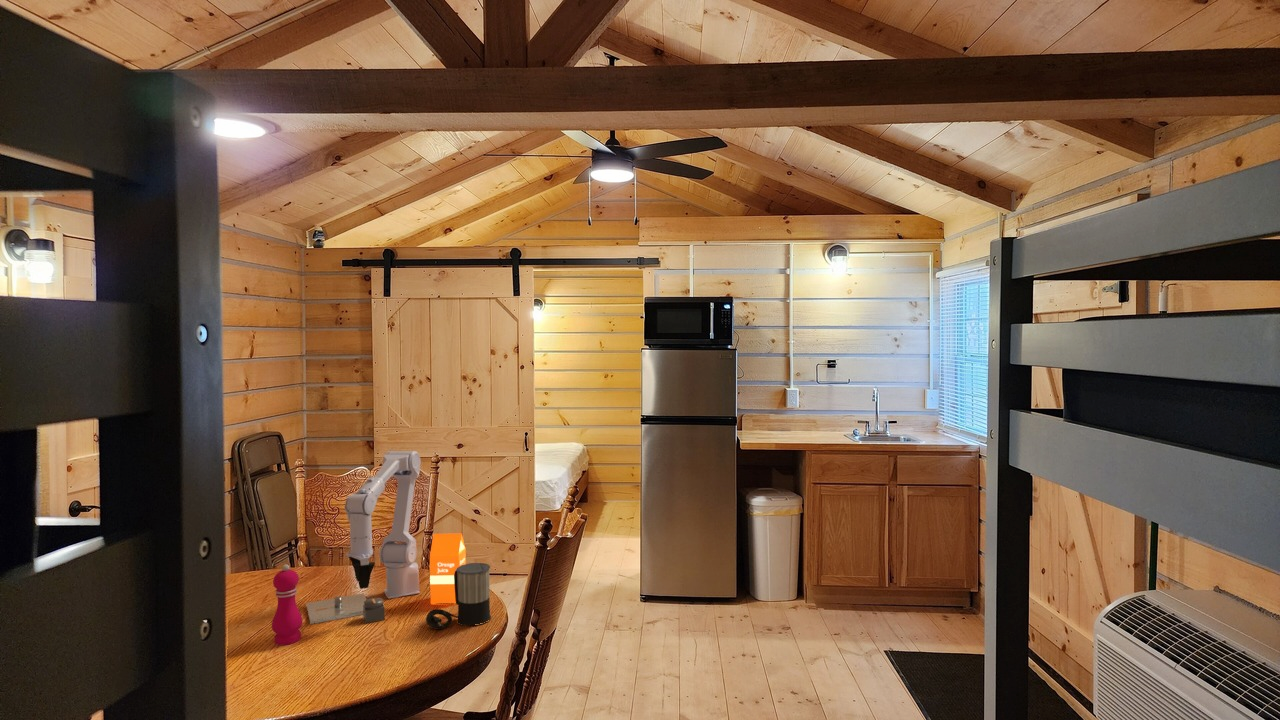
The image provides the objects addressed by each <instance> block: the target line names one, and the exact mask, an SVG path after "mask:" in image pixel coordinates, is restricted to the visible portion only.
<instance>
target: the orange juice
mask: <svg viewBox="0 0 1280 720" xmlns="http://www.w3.org/2000/svg"><path fill="white" fill-rule="evenodd" d="M432 536H433V537H432V540H431V541H432V542H431V547H430V553H429V585H430V586H429V587H430V589H429V590H430V605H437V604H436V603H456V601H455V585H454V573H455V571H456V569H457V568H458V567H459V566H461V565H464V564H467V560H466V555H467V554H466V546H465V542H464V537H463V534H462V533H433V535H432Z"/></svg>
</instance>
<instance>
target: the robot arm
mask: <svg viewBox="0 0 1280 720" xmlns="http://www.w3.org/2000/svg"><path fill="white" fill-rule="evenodd" d="M421 462H422V458H421V457H420V454H419V452H418V451H416V450H412V451H411V450H404V451H403V450H402V451H401V450H400V451H399V450H397V451H396V450H387V451H386V453H385V454H384V455H383V458H382V464H381V467H380V468H379V469H378V471H377V473H376V474H375V476H371V477H368V478H367V479H366V481H365V482H364V483H363V485H362V486H361V487H360V488H359V489H358V490H357V491H356V492H355V493H352V494H350V495H349V496H347V498H346V500H345V503H344V511H345V513H346V514H347V515H346V516H347V521H348V522H349V541H350V552H346V553H345V556H346V557H347V558H349V560H350V562H351V563H352V567H353V571H354V575H355V580H356V582H358V586H359V589H360V590H361V589H362V590H363V589H367V588H369V586H370V585H369V584H370V581H371V580H370V579H371V575H372V571H373V569H374V567H375V566H376V565H375V564H376V563H375V562H374V561H372V562H369V559H370V558H371V556H372V555H373V554H374V550H373V534H372V533H373V532H372V531H373V528H372V527H373V526H372V525H373V524H372V513H374V511H375V509H376V505H377V504H378V503H377V502H378V499H379V497H380V496H381V495H382V494H383V492H384V491H385V489H386V483H387V482H388V481H389V480H390V479H391V478H394V479H396V481H397V487H396V489H397V491H396V497H395V505H394V513H393V519H392V528H391V532H390V533H389V534H388V535H387V536H385V537H384V538H383V540H382V544H381V547H380V550H379V560H380V562H381V563H382V564H383V567H385V573H386V578H385V579H386V589H384V590H383V593H384V595H385V596H386V598H387V599H395V598H400V597H406V596H410V595H416V594H420V592H421V591H420V576H419V575H420V571H419V565H418V562H417V561H416V562H415V560H416V559H417V558H416V557H417V554H418V553H417V551H418V550H417V539H416V538H414V536H413V535H411V534H410V523H411V517H412V510H413V509H412V508H413V501H414V493H415V485H416V479H418V478H419V476H420V472H421V465H422V464H421Z"/></svg>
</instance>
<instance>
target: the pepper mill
mask: <svg viewBox="0 0 1280 720" xmlns="http://www.w3.org/2000/svg"><path fill="white" fill-rule="evenodd" d="M299 581H300V577H299V574H298V573H297V571H295V570H293V569H290V565H288V564H283V565H282V566H281V570H280V571H279V572H277V573H276V574H275V575H274V577H273V580H272V582H273V583H272V584H273V585H272V586H273V587H274V588H275V589H276V590H275V597H277V607H276V610H275V612H274V616H273V618H272V622H271V630H272V631H273V632H274V633H275V634H274V636H273V638H274V639H273V640H274V641H273V643H274V644H275V645H276V644H277V646H286V645H292V644H294V643H297V642H299V641H300V640H301V638H302V634H301V633H302V632H301V630H300V629H301V627H303V617H302V613H301V612H300V610H299V608H298V606H297V602H296V594H297V593H298V591H297V589H298V588H297V585H298V584H299Z"/></svg>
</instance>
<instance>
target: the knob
mask: <svg viewBox="0 0 1280 720" xmlns="http://www.w3.org/2000/svg"><path fill="white" fill-rule="evenodd" d="M385 609H386V608H385V605H384V599H383V598H382V597H372V598H368V599H367V600H366V601H364V605H363V615H362V616H363V620H364V622H365V624H369V623H374V622H380V621H385V620H386V615H385V611H386V610H385ZM384 619H385V620H384ZM379 620H380V621H379Z"/></svg>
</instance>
